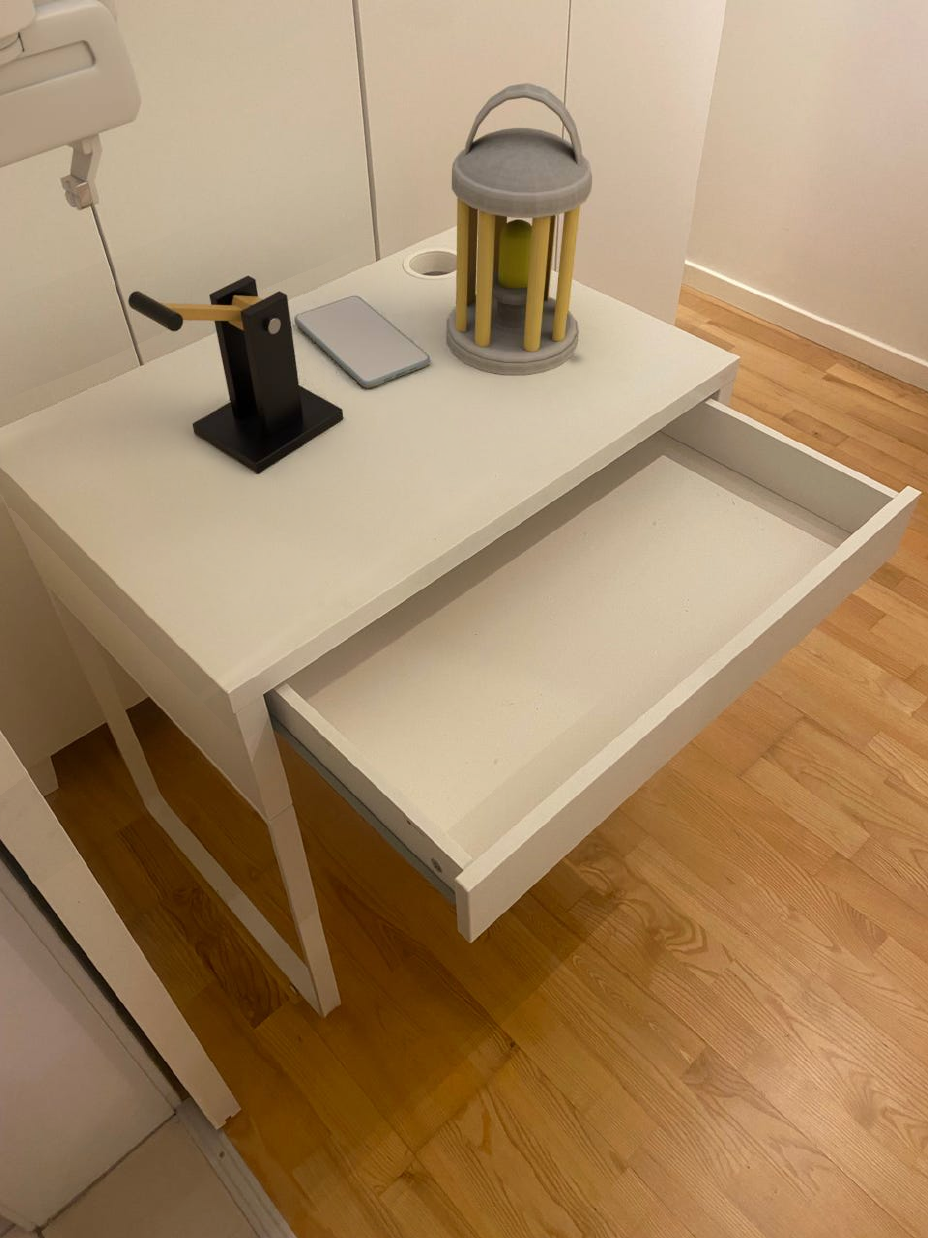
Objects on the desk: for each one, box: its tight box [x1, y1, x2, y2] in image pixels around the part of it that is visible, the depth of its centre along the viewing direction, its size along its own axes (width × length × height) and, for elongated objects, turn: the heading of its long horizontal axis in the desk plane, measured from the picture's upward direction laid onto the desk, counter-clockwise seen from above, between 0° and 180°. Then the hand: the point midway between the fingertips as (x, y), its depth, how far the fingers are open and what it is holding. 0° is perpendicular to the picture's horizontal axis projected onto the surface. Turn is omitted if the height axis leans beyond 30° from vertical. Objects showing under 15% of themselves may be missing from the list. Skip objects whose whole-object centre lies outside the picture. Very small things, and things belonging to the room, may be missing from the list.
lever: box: [127, 290, 264, 332], centre depth 79 cm, size 12×5×2 cm, turn 139°
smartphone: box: [294, 295, 431, 389], centre depth 101 cm, size 8×1×15 cm
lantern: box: [445, 82, 593, 376], centre depth 94 cm, size 14×14×25 cm
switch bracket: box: [191, 275, 344, 474], centre depth 87 cm, size 11×9×14 cm
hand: (23, 228), depth 64 cm, fingers open, 8 cm apart
